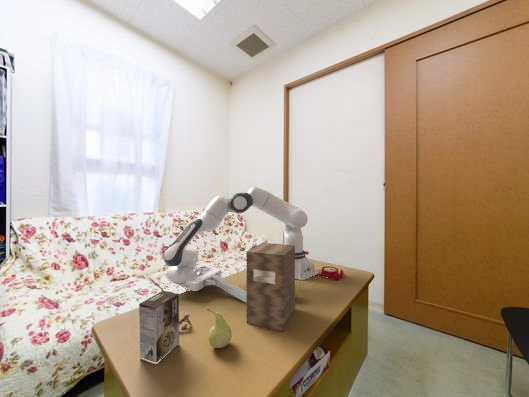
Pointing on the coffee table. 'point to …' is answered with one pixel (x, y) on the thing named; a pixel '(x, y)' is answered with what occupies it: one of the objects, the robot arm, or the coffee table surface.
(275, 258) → the brown patterned box
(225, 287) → the aluminium bar
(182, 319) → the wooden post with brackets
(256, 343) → the coffee table surface
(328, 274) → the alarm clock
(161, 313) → the coffee box
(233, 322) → the coffee table surface
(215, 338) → the fruit
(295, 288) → the tennis ball
